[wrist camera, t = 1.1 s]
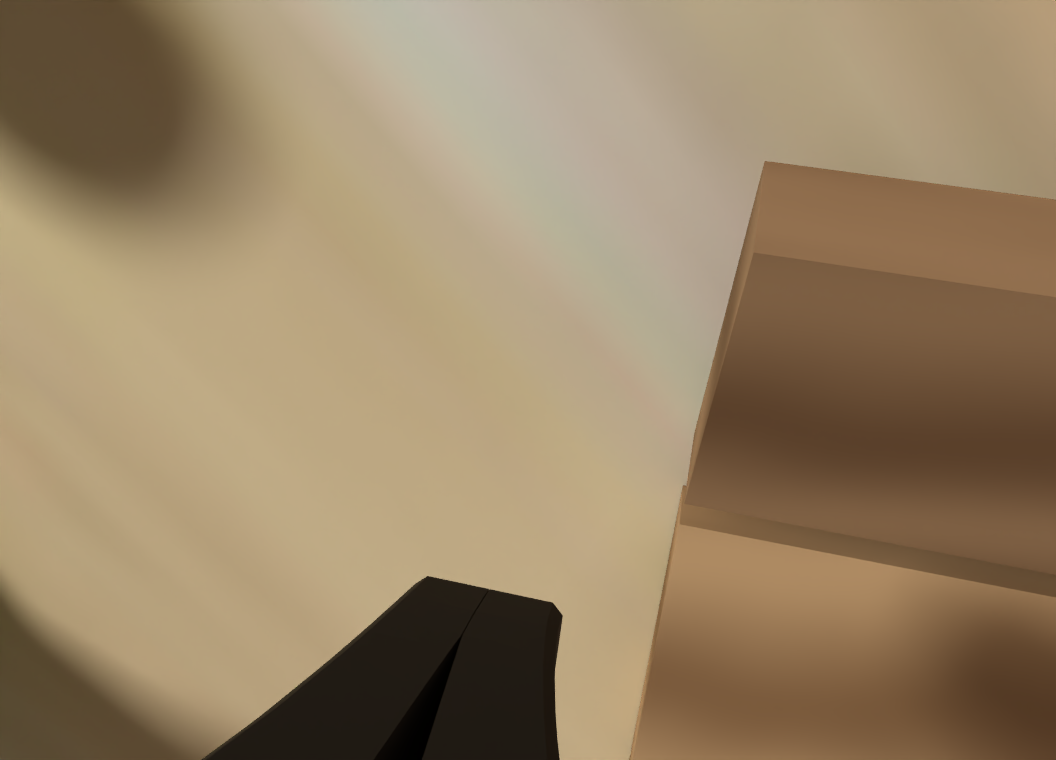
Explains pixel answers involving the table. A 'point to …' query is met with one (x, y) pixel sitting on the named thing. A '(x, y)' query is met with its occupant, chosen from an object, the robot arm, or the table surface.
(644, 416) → the table surface
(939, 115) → the table surface
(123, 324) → the table surface
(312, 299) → the table surface
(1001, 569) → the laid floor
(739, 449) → the loose plank
